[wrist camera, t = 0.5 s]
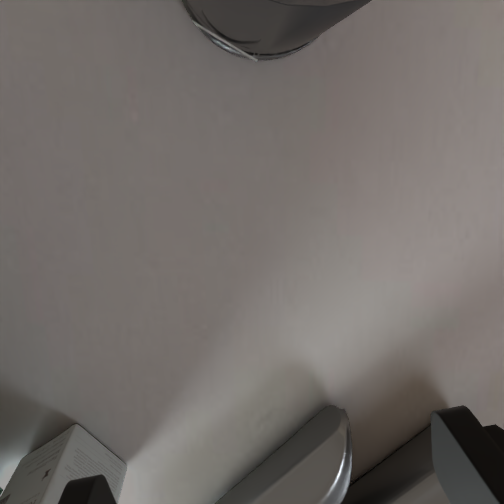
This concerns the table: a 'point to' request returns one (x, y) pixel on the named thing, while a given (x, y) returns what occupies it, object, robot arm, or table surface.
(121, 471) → the product carton
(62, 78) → the table surface
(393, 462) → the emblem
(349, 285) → the table surface
